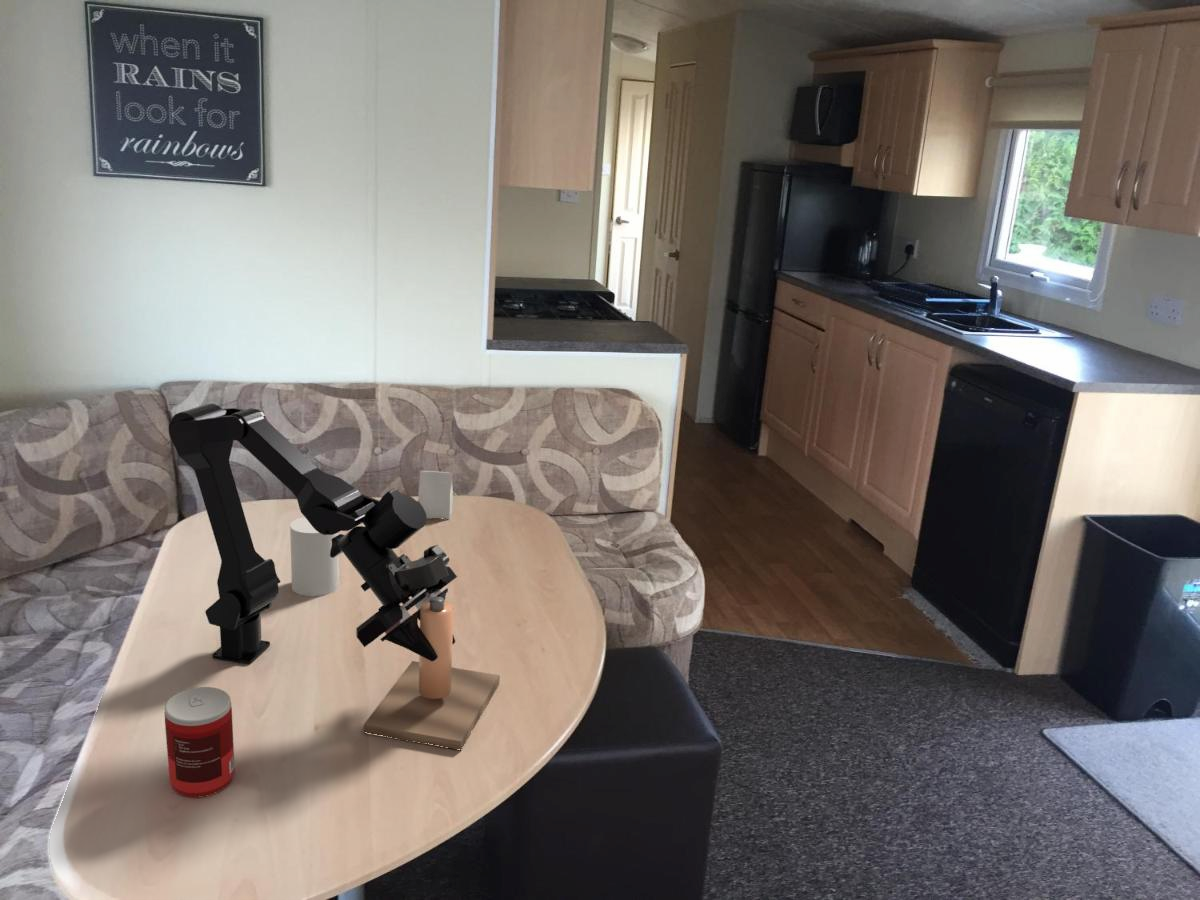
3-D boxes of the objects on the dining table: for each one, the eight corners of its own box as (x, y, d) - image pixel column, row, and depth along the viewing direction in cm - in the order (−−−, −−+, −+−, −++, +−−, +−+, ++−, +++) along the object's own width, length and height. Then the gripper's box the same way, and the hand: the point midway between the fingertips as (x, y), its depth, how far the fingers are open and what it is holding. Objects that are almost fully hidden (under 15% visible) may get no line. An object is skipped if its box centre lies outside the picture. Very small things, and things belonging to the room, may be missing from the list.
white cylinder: (345, 579, 183) (344, 518, 179) (329, 598, 175) (328, 535, 171) (302, 574, 183) (300, 513, 180) (284, 593, 176) (282, 530, 172)
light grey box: (449, 519, 214) (450, 475, 211) (418, 517, 214) (418, 473, 211) (452, 513, 217) (453, 470, 214) (421, 511, 217) (421, 468, 214)
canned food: (213, 753, 131) (209, 679, 127) (247, 779, 126) (244, 703, 123) (157, 778, 125) (151, 702, 122) (190, 807, 120) (185, 728, 117)
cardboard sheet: (461, 750, 135) (461, 741, 134) (363, 733, 137) (363, 724, 137) (499, 683, 152) (499, 675, 151) (412, 669, 154) (412, 660, 153)
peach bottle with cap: (434, 702, 140) (437, 610, 136) (411, 690, 143) (413, 599, 139) (457, 689, 144) (460, 599, 140) (435, 678, 147) (437, 589, 142)
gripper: (375, 559, 129) (447, 655, 129) (447, 513, 146) (511, 598, 146) (325, 600, 134) (394, 692, 134) (400, 552, 151) (462, 634, 151)
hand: (444, 651), depth 141 cm, fingers closed on peach bottle with cap, 5 cm apart
